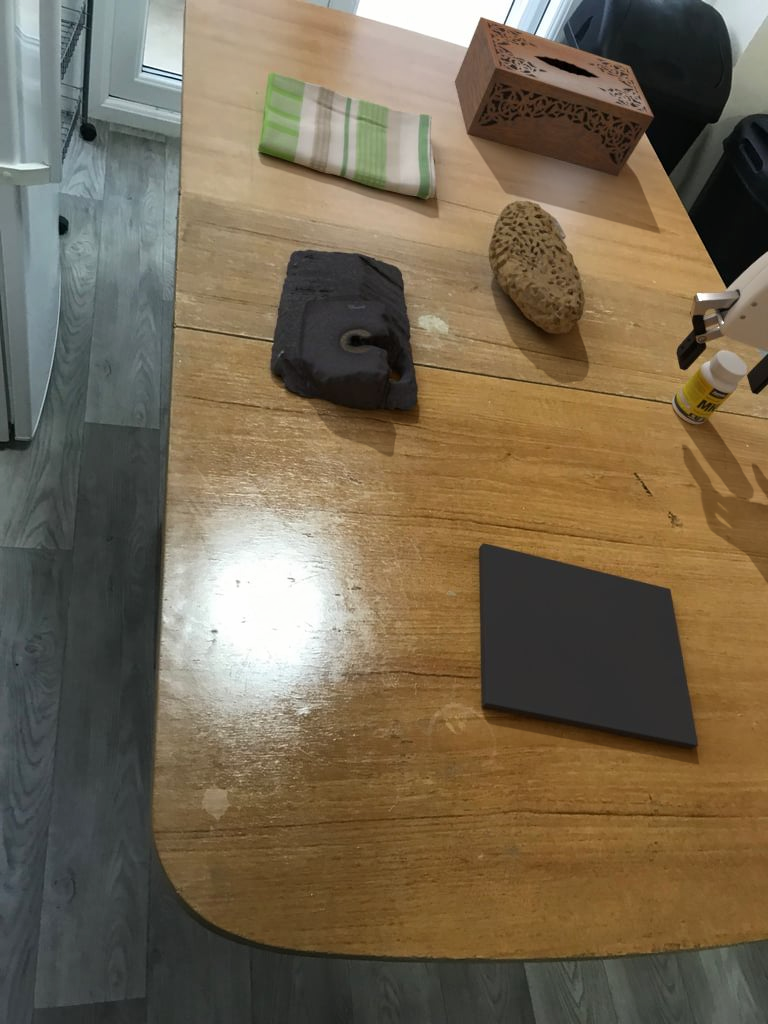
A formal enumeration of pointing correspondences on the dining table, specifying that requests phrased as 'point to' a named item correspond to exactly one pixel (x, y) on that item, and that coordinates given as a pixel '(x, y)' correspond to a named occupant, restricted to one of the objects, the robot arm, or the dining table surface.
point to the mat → (581, 648)
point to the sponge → (536, 267)
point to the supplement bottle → (709, 387)
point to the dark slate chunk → (344, 331)
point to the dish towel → (348, 137)
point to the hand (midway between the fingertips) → (716, 373)
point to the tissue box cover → (550, 98)
